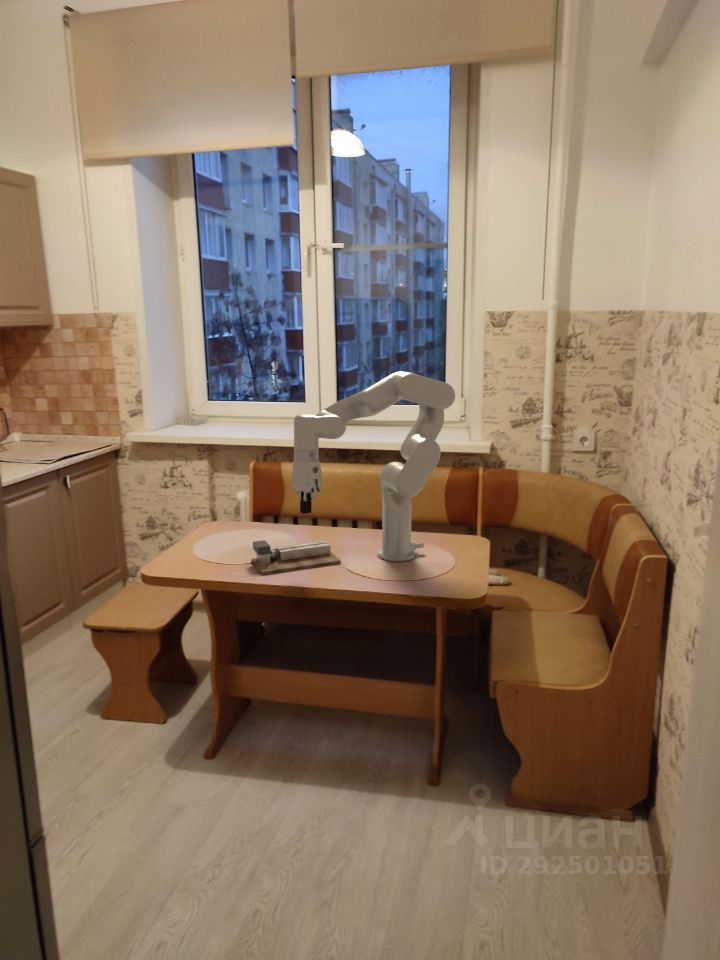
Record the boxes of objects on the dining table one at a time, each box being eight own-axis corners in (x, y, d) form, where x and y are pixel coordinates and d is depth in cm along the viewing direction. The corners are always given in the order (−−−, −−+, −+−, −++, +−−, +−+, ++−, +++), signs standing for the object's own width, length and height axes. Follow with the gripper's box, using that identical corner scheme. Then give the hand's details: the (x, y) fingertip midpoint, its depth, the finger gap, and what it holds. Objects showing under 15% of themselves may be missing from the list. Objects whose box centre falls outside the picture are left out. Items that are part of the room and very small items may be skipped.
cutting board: (326, 551, 226) (326, 548, 226) (340, 563, 215) (340, 560, 215) (251, 561, 217) (251, 558, 216) (261, 575, 205) (261, 572, 205)
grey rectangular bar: (326, 550, 223) (326, 541, 223) (330, 553, 220) (330, 545, 219) (268, 558, 216) (267, 549, 215) (271, 562, 212) (270, 553, 212)
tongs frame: (324, 549, 225) (324, 540, 224) (331, 555, 220) (331, 545, 219) (256, 559, 216) (256, 549, 215) (261, 565, 211) (261, 555, 210)
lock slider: (265, 547, 217) (264, 540, 216) (270, 553, 211) (270, 545, 210) (253, 548, 215) (252, 541, 214) (258, 554, 209) (257, 547, 209)
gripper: (330, 457, 201) (329, 516, 205) (302, 450, 212) (302, 506, 216) (310, 459, 196) (309, 520, 200) (282, 452, 207) (282, 509, 211)
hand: (305, 512), depth 208 cm, fingers closed
